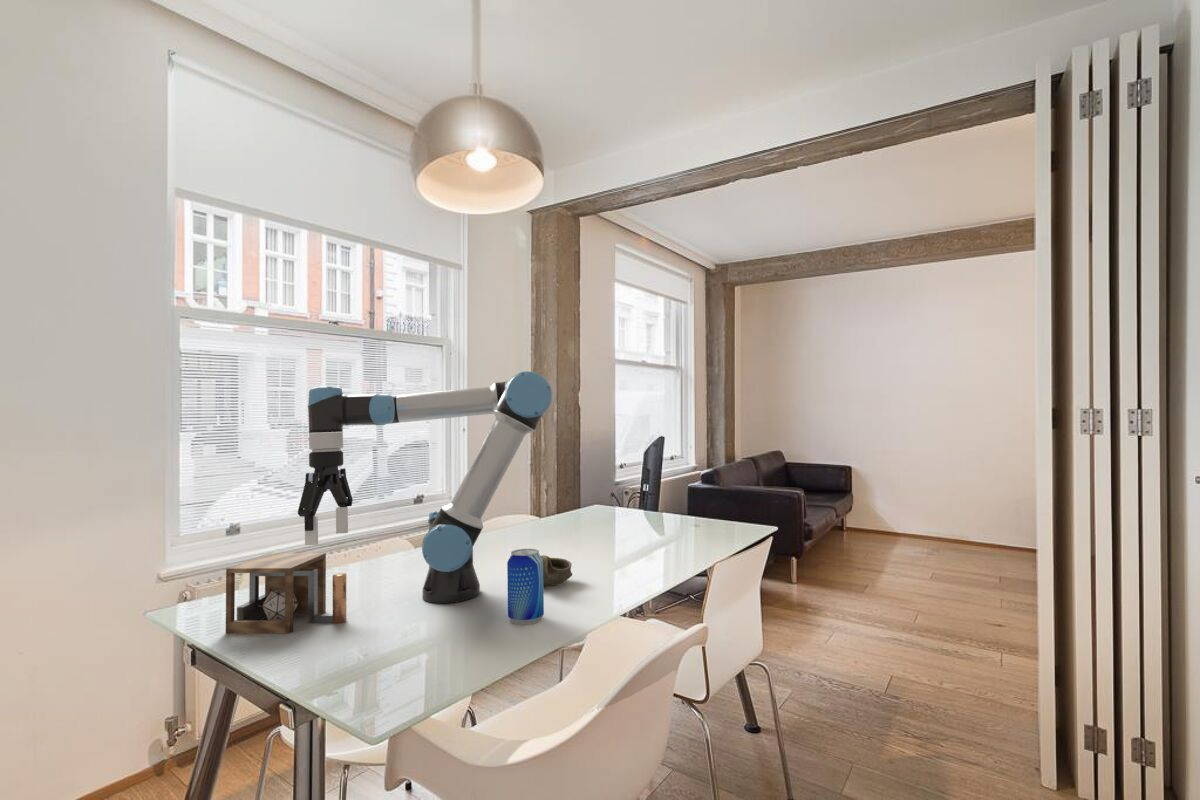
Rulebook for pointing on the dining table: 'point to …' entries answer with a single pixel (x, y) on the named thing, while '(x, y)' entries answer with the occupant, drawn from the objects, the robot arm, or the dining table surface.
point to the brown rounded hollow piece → (555, 570)
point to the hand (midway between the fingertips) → (327, 538)
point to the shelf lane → (277, 565)
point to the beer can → (525, 586)
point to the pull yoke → (339, 598)
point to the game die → (277, 604)
